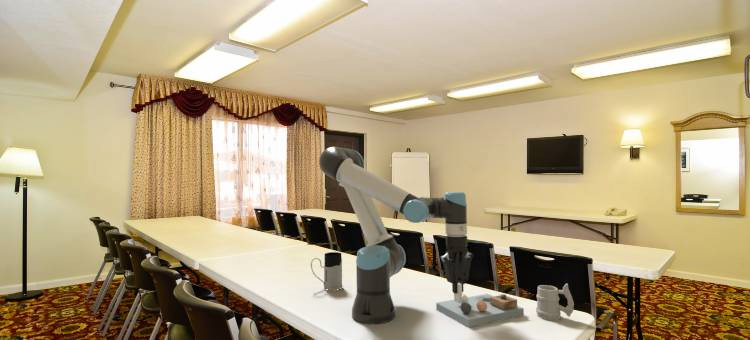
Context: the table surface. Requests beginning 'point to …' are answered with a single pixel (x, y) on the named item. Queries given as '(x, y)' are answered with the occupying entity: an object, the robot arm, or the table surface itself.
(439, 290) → the table surface
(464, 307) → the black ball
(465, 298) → the steel ball
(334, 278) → the glass holder
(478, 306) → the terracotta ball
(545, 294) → the mug
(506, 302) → the cover
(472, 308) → the board
